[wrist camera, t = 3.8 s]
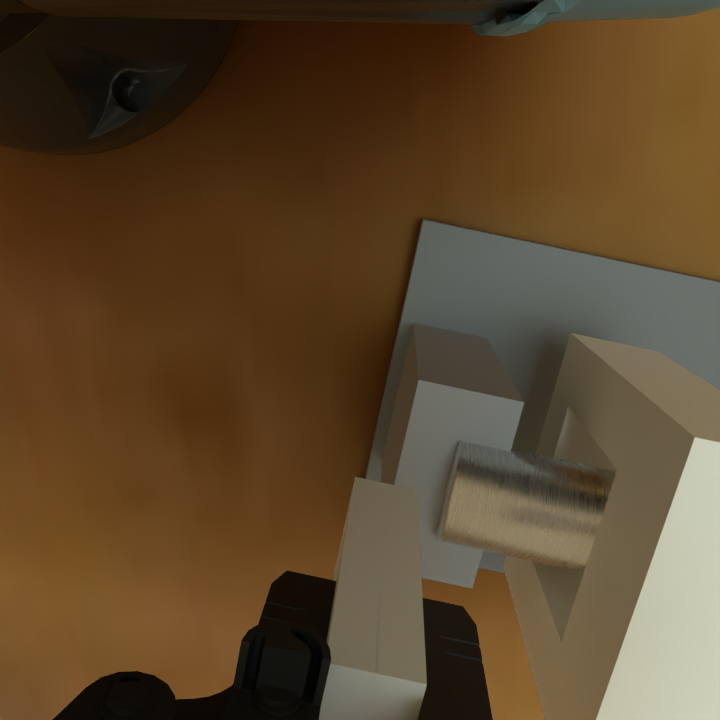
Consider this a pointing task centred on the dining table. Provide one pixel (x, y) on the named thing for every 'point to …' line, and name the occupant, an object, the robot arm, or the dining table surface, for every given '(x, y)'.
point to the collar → (631, 544)
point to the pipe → (523, 505)
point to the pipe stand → (511, 356)
